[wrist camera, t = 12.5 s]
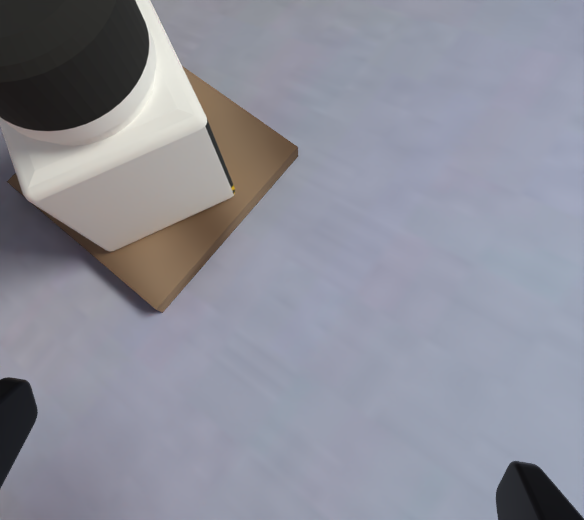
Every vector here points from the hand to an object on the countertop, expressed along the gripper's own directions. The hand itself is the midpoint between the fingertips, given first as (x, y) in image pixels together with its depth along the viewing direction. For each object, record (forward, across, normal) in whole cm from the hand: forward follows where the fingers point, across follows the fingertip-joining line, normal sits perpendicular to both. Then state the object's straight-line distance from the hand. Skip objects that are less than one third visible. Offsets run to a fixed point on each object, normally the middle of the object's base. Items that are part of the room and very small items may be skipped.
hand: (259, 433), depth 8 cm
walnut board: (+17, +9, +2) cm, 20 cm away
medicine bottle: (+16, +9, +2) cm, 19 cm away
